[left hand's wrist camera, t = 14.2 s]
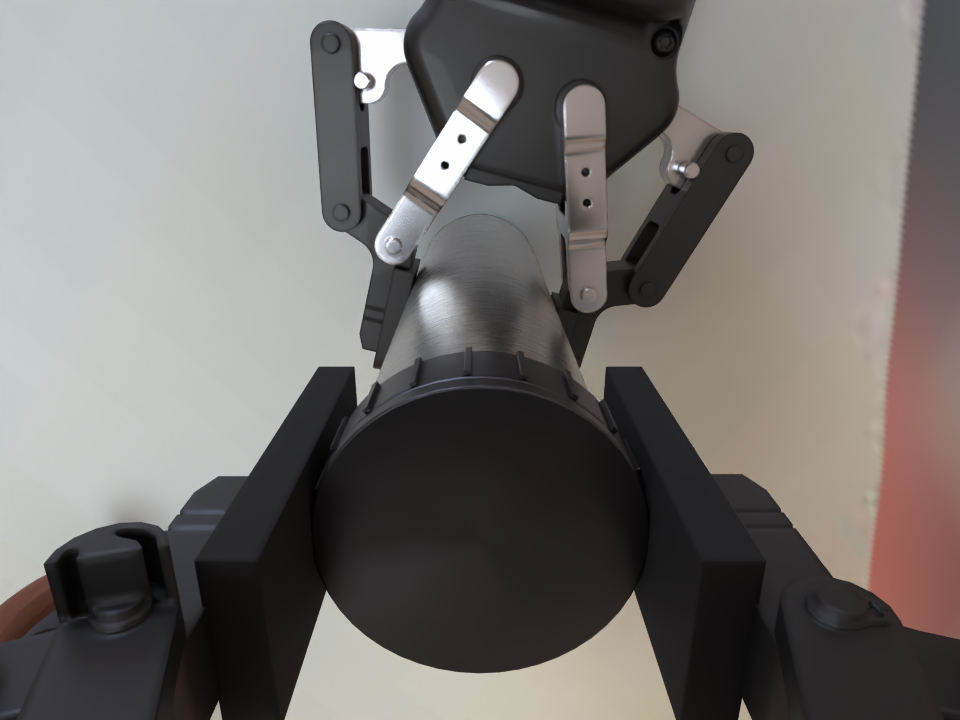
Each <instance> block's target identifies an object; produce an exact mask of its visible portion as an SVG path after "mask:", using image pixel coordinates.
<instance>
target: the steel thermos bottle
mask: <svg viewBox="0 0 960 720" xmlns="http://www.w3.org/2000/svg"><path fill="white" fill-rule="evenodd" d="M465 347H472V351H491V352H504V353H509V354H514V355H516V354H517V351H522V352H524V357H527V358H530V359H533V360H536V361H539V362H542V363H544V364H547V365H549V366H551V367H553V368H555V369H557V370H559V371H561V372H563V371H564V370H565V369H567V370H568V371H570V372H571V375H572V378H573V379H574V380H575V381H577V382H578V383H579V384H581V385H582V386H583V387H584V388H585V389H586V390H587V391H588V389H587V387H586V384H585V382H584V379H583V377H582V374H581V372H580V369H579V367H578V364H577V362H576V359H575V356H574V354H573V351H572V349H571V346H570V344H569V341H568V339H567V336H566V334H565V331H564V329H563V326H562V323H561V321H560V318H559V316H558V313H557V311H556V308H555V306H554V303H553V301H552V298H551V295H550V293H549V290H548V288H547V285H546V283H545V280H544V278H543V275H542V273H541V270H540V268H539V265H538V262H537V260H536V257H535V255H534V252H533V250H532V247H531V245H530V243H529V242H528V240H527V238H526V237H525V236H524V235H523V233H522V232H521V231H520V230H519V229H518V228H516V227H515V226H514V225H513V224H511V223H509V222H508V221H506V220H504V219H501V218H499V217H495V216H492V215H484V214H475V215H468V216H465V217H461V218H459V219H456V220H454V221H452V222H451V223H449V224H447V225H446V226H445V227H444V228H442V229H441V230H440V231H439V232H438V233H437V234H436V236H435V237H434V239H433V240H432V242H431V243H430V245H429V247H428V250H427V252H426V255H425V257H424V260H423V262H422V265H421V268H420V270H419V273H418V275H417V278H416V280H415V283H414V285H413V288H412V291H411V293H410V296H409V298H408V301H407V303H406V306H405V308H404V311H403V314H402V316H401V319H400V321H399V324H398V326H397V329H396V331H395V334H394V337H393V339H392V342H391V344H390V347H389V349H388V352H387V354H386V357H385V360H384V362H383V365H382V367H381V370H380V372H379V375H378V377H377V380H376V381H377V382H378V383H379V384H381V383H383V382H384V381H385V380H387V379H388V378H390V377H392V376H393V375H395V374H396V373H398V372H400V371H401V370H403V369H405V368H408V367H410V366H412V365H414V361H415V359H417V358H419V357H421V359H422V361H424V360H428V359H431V358H434V357H437V356H441V355H446V354H452V353H458V352H465Z"/></svg>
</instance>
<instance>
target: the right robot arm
mask: <svg viewBox="0 0 960 720" xmlns="http://www.w3.org/2000/svg"><path fill="white" fill-rule="evenodd" d="M695 1H696V0H425V2H424V3H423V5H422V6H421V8H420V9H419V10H418V11H417V12H416V14H415V15H414V16H413V17H412V18H411V20H410V22H409V23H408V26H407V28H406V29H358V28H349V27H347V26H345V25H343V24H341V23H339V22H336V21H332V20H327V21H323V22H321V23H319V24H318V25H317V26H316V27H315V28H314V29H313V31H312V34H311V38H310V48H311V62H312V76H313V90H314V105H315V119H316V133H317V147H318V161H319V175H320V189H321V203H322V215H323V218H324V220H325V222H326V224H327V225H328V226H329V227H330V228H332V229H333V230H336V231H339V232H346V233H348V234H350V235H351V236H353V237H354V238H356V239H357V240H359V241H360V242H362V243H363V244H364V245H365V246H366V247H367V248H368V249H369V251H370V253H371V255H372V258H373V270H372V275H371V280H370V285H369V290H368V295H367V300H366V305H365V310H364V314H363V319H362V324H361V329H360V339H361V343H362V348H363V349H366V350H370V351H374V352H376V355H375V359H374V365H373V368H376V369H380V370H381V367H382V365H383V362H384V360H385V357H386V354H387V352H388V349H389V347H390V344H391V342H392V339H393V337H394V334H395V331H396V329H397V326H398V324H399V321H400V319H401V316H402V314H403V311H404V308H405V306H406V303H407V301H408V298H409V296H410V293H411V291H412V288H413V285H414V283H415V280H416V277H417V273H418V268H419V264H420V259H416V258H415V256H416V252H417V247H418V243H419V241H420V240H421V238H422V237H423V235H424V234H425V232H426V231H427V229H428V228H429V226H430V224H431V223H432V221H433V220H434V218H435V217H436V215H437V214H438V212H439V211H440V210H441V208H442V207H443V205H444V204H445V202H446V201H447V199H448V198H449V196H450V195H451V193H452V192H453V190H454V188H455V187H456V185H457V184H458V182H459V181H460V179H461V178H462V176H464V177H465V180H468V181H472V182H476V183H480V184H484V185H487V186H505V185H513V186H516V187H518V188H520V189H522V190H523V191H525V192H527V193H528V194H530V195H532V196H534V197H535V198H537V199H541V200H544V201H548V202H552V203H556V217H557V226H558V231H559V243H560V260H561V277H562V285H561V289H560V292H559V294H558V293H554V292H552V294H551V298H552V301H553V303H554V306H555V308H556V311H557V313H558V316H559V318H560V321H561V323H562V326H563V329H564V331H565V334H566V336H567V339H568V341H569V344H570V346H571V349H572V351H573V354H574V356H575V359H576V362H577V364H578V367H579V368H580V366H581V363H582V359H583V357H584V354H585V351H586V348H587V345H588V342H589V339H590V336H591V333H592V330H593V327H594V323H595V321H596V319H597V317H598V316H599V315H600V313H602V312H603V311H604V310H606V309H607V308H610V307H613V306H619V305H630V304H636V305H638V306H641V307H651V306H654V305H656V304H658V303H659V302H660V301H661V300H662V299H663V297H664V296H665V294H666V293H667V291H668V289H669V288H670V286H671V285H672V283H673V282H674V280H675V279H676V277H677V276H678V274H679V272H680V271H681V269H682V268H683V266H684V265H685V263H686V262H687V260H688V259H689V257H690V255H691V254H692V252H693V251H694V249H695V248H696V246H697V245H698V243H699V242H700V240H701V238H702V237H703V235H704V234H705V232H706V231H707V229H708V228H709V226H710V225H711V223H712V221H713V220H714V218H715V217H716V215H717V214H718V212H719V211H720V209H721V208H722V206H723V204H724V203H725V201H726V200H727V198H728V197H729V195H730V194H731V192H732V191H733V189H734V187H735V186H736V184H737V183H738V181H739V180H740V178H741V177H742V175H743V174H744V172H745V170H746V169H747V167H748V166H749V164H750V163H751V161H752V158H753V154H754V147H753V144H752V142H751V140H750V139H749V138H748V137H747V136H746V135H744V134H742V133H733V132H721V131H719V130H718V129H716V128H714V127H713V126H711V125H709V124H708V123H706V122H704V121H703V120H701V119H700V118H698V117H696V116H695V115H693V114H691V113H690V112H688V111H686V110H685V109H683V108H681V107H680V106H678V105H679V90H678V85H677V76H676V66H677V58H678V53H679V49H680V46H681V43H682V40H683V38H684V35H685V31H686V28H687V25H688V22H689V19H690V16H691V13H692V10H693V7H694V4H695ZM403 65H408V68H409V70H410V73H411V75H412V78H413V80H414V83H415V85H416V88H417V90H418V93H419V95H420V98H421V100H422V103H423V105H424V108H425V111H426V113H427V116H428V118H429V121H430V123H431V126H432V128H433V131H434V133H435V136H436V138H437V140H436V141H435V143H434V145H433V146H432V148H431V149H430V151H429V153H428V154H427V156H426V157H425V159H424V161H423V162H422V164H421V165H420V167H419V168H418V170H417V172H416V173H415V175H414V176H413V178H412V180H411V181H410V183H409V185H408V186H407V188H406V190H405V192H404V193H403V195H402V197H401V198H400V200H399V201H398V203H397V205H396V206H395V208H394V209H393V210H392V209H391V208H389V207H388V206H387V205H385V204H384V203H382V202H381V201H379V200H378V199H376V198H375V197H373V196H372V180H371V158H370V136H369V113H368V104H374V103H377V102H379V101H381V100H382V99H383V98H384V97H385V96H386V94H387V92H388V88H389V80H390V77H391V75H392V73H393V72H394V71H395V70H396V69H397V68H399V67H400V66H403ZM658 136H660V138H661V139H662V141H663V144H664V154H663V158H662V160H661V162H660V167H659V172H660V175H661V178H662V179H663V181H664V182H666V183H667V185H666V186H665V188H664V190H663V191H662V193H661V195H660V196H659V198H658V199H657V201H656V203H655V204H654V206H653V208H652V209H651V211H650V213H649V214H648V216H647V217H646V219H645V221H644V222H643V224H642V226H641V227H640V229H639V230H638V232H637V234H636V235H635V237H634V239H633V240H632V242H631V244H630V245H629V247H628V248H627V250H626V252H625V253H624V255H623V257H622V258H621V260H620V261H610V262H606V240H607V235H608V220H607V191H606V179H607V178H608V177H609V176H610V175H612V174H613V173H614V172H615V171H616V170H618V169H619V168H620V167H621V166H623V165H624V164H625V163H626V162H628V161H629V160H630V159H631V158H632V157H634V156H635V155H636V154H637V153H639V152H640V151H641V150H642V149H644V148H645V147H646V146H647V145H648V144H650V143H651V142H652V141H653V140H655V139H656V138H657V137H658Z"/></svg>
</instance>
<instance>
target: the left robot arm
mask: <svg viewBox="0 0 960 720" xmlns="http://www.w3.org/2000/svg"><path fill="white" fill-rule="evenodd" d="M604 401H605V402H606V403H607V406H608V408H609V410H610V413H611V415H612V417H613V419H614V422H615V424H616V426H617V428H618V431H619V434H620V436H621V438H622V440H623V439H626V438H627V440H628V442H629V444H630V446H631V448H632V451H633V453H634V455H635V457H636V459H637V462H638V464H639V466H640V468H641V471H642V474H639V475H638V477H639V479H640V481H641V483H642V486H643V489H644V493H645V496H646V500H647V503H648V510H649V519H650V528H649V539H648V548H647V557H646V562H645V565H644V568H643V570H642V573H641V576H640V579H639V581H638V583H637V585H636V587H635V589H634V591H635V595H636V598H637V601H638V604H639V607H640V610H641V613H642V616H643V619H644V622H645V625H646V628H647V632H648V635H649V638H650V641H651V644H652V647H653V650H654V653H655V656H656V659H657V662H658V666H659V669H660V672H661V675H662V678H663V681H664V684H665V687H666V690H667V693H668V696H669V699H670V703H671V706H672V709H673V712H674V715H675V718H676V720H738V717H739V712H740V706H741V701H742V698H743V701H744V703H745V705H746V707H747V709H748V712H749V714H750V716H751V718H752V720H960V640H959V639H954V638H950V637H945V636H941V635H936V634H931V633H927V632H922V631H918V630H914V629H911V628H907V627H904V626H903V625H902V623H901V621H900V620H899V618H898V617H897V615H896V614H895V613H894V611H893V610H892V609H891V607H890V606H889V605H888V604H886V603H885V602H884V601H882V600H881V599H880V598H878V597H877V596H876V595H874V594H873V593H872V592H870V591H867V590H865V589H863V588H861V587H859V586H857V585H855V584H853V583H851V582H847V581H843V580H839V579H836V578H833V577H832V575H831V574H830V573H829V571H828V570H827V569H826V567H825V566H824V565H823V564H822V562H821V561H820V560H819V558H818V557H817V556H816V554H815V553H814V552H813V550H812V549H811V548H810V547H809V545H808V544H807V543H806V541H805V540H804V539H803V537H802V536H801V535H800V533H799V532H798V531H797V530H796V528H793V526H792V525H793V524H792V523H791V522H790V520H789V519H788V518H787V516H786V515H785V514H784V513H781V509H780V507H779V506H778V505H777V503H776V502H775V501H774V499H773V498H772V497H771V496H770V494H769V493H768V492H767V490H765V489H764V488H762V487H761V486H759V485H758V484H756V483H755V482H753V481H752V480H750V479H749V478H747V477H746V476H744V475H743V474H710V473H709V471H708V469H707V468H706V466H705V465H704V463H703V462H702V460H701V459H700V457H699V455H698V454H697V452H696V451H695V449H694V448H693V446H692V444H691V443H690V441H689V440H688V438H687V437H686V435H685V434H684V432H683V430H682V429H681V427H680V426H679V424H678V423H677V421H676V420H675V418H674V416H673V415H672V413H671V412H670V410H669V409H668V407H667V406H666V404H665V402H664V401H663V399H662V398H661V396H660V395H659V393H658V392H657V390H656V388H655V387H654V385H653V384H652V382H651V381H650V379H649V378H648V376H647V374H646V373H645V371H644V370H643V368H642V367H606V374H605V388H604ZM356 408H357V396H356V382H355V368H354V367H318V369H317V370H316V372H315V374H314V375H313V377H312V378H311V380H310V381H309V383H308V384H307V386H306V388H305V389H304V391H303V392H302V394H301V395H300V397H299V398H298V400H297V402H296V403H295V405H294V406H293V408H292V409H291V411H290V412H289V414H288V416H287V417H286V419H285V420H284V422H283V423H282V425H281V426H280V428H279V430H278V431H277V433H276V434H275V436H274V437H273V439H272V440H271V442H270V444H269V445H268V447H267V448H266V450H265V451H264V453H263V455H262V456H261V458H260V459H259V461H258V462H257V464H256V465H255V467H254V469H253V470H252V472H251V473H250V475H249V476H218V477H217V478H215V479H214V480H212V481H211V482H209V483H208V484H206V485H205V486H203V487H202V488H200V489H199V490H197V491H196V492H194V494H193V495H192V496H191V497H190V499H189V500H188V501H187V503H186V504H185V505H184V507H183V508H182V509H181V511H180V515H177V516H176V517H175V519H174V520H173V521H172V523H171V524H170V525H169V526H168V531H163V530H162V529H161V528H160V527H158V526H156V525H151V524H147V523H142V522H134V523H118V524H114V525H110V526H105V527H101V528H97V529H94V530H92V531H89V532H87V533H85V534H82V535H80V536H77V537H75V538H73V539H72V540H70V541H69V542H67V543H66V544H64V545H63V546H61V547H60V548H58V549H57V550H55V551H54V552H53V554H52V555H51V556H50V557H49V558H48V560H47V561H46V562H45V563H44V568H45V571H46V575H47V579H48V582H49V586H50V590H51V593H52V597H53V601H54V604H55V608H56V612H57V615H58V619H59V624H58V626H57V629H56V630H53V631H49V632H46V633H42V634H38V635H33V636H29V637H24V638H19V639H15V640H10V641H6V642H1V643H0V720H210V718H211V716H212V714H213V712H214V709H215V707H216V705H217V703H218V700H219V704H220V709H221V715H222V720H284V719H285V716H286V713H287V710H288V707H289V704H290V701H291V698H292V695H293V691H294V688H295V685H296V682H297V679H298V676H299V673H300V670H301V667H302V664H303V661H304V658H305V654H306V651H307V648H308V645H309V642H310V639H311V636H312V633H313V630H314V627H315V624H316V620H317V617H318V614H319V611H320V608H321V605H322V602H323V599H324V596H325V593H326V588H325V586H324V584H323V582H322V580H321V578H320V575H319V572H318V569H317V566H316V563H315V560H314V553H313V545H312V534H311V515H312V508H313V501H314V498H315V495H316V494H315V487H316V485H317V482H318V480H319V478H320V476H321V473H322V471H323V469H324V467H325V464H326V462H327V460H328V458H329V457H331V455H332V452H333V451H332V450H330V446H331V444H332V442H333V440H334V437H335V435H336V433H337V431H338V429H339V426H340V424H341V422H342V420H343V418H344V417H345V416H346V417H348V418H350V416H351V415H352V414H353V412H354V411H355V409H356Z"/></svg>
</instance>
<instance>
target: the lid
mask: <svg viewBox="0 0 960 720" xmlns="http://www.w3.org/2000/svg"><path fill="white" fill-rule="evenodd" d="M330 450H332V451H333V452H332V455H331V457H329V458H328V460H327V462H326V464H325V467H324V469H323V471H322V473H321V476H320V478H319V480H318V482H317V485H316V487H315V494H316V495H315V498H314V501H313V508H312V515H311V534H312V545H313V553H314V560H315V563H316V566H317V569H318V572H319V575H320V578H321V580H322V582H323V584H324V586H325V588H326V590H327V592H328V594H329V595H330V597H331V598H332V600H333V601H334V602H335V604H336V605H337V607H338V608H339V610H340V611H341V612H342V613H343V614H344V615H345V616H346V617H347V619H348V620H349V621H350V622H351V623H352V624H353V625H354V626H355V627H357V628H358V629H359V630H360V631H361V632H362V633H363V634H365V635H366V636H367V637H369V638H370V639H371V640H373V641H374V642H376V643H377V644H379V645H380V646H382V647H383V648H385V649H387V650H389V651H391V652H393V653H395V654H397V655H399V656H401V657H403V658H406V659H409V660H411V661H414V662H416V663H419V664H423V665H426V666H430V667H434V668H437V669H443V670H449V671H455V672H467V673H495V672H505V671H512V670H518V669H523V668H527V667H530V666H534V665H538V664H541V663H544V662H547V661H549V660H552V659H555V658H557V657H559V656H561V655H563V654H565V653H567V652H569V651H571V650H573V649H575V648H577V647H578V646H580V645H581V644H583V643H585V642H586V641H588V640H589V639H591V638H592V637H593V636H594V635H596V634H597V633H598V632H599V631H600V630H602V629H603V628H604V627H605V626H606V625H607V624H608V623H609V622H610V621H611V620H612V619H613V618H614V617H615V616H616V615H617V614H618V613H619V612H620V610H621V609H622V607H623V606H624V605H625V603H626V602H627V600H628V599H629V598H630V596H631V594H632V592H633V590H634V589H635V587H636V585H637V583H638V581H639V579H640V576H641V573H642V570H643V568H644V565H645V562H646V557H647V548H648V539H649V528H650V519H649V510H648V503H647V500H646V496H645V493H644V489H643V486H642V483H641V481H640V479H639V477H638V475H639V474H642V471H641V468H640V466H639V464H638V462H637V459H636V457H635V455H634V453H633V451H632V448H631V446H630V444H629V442H628V440H627V438H626V439H623V440H622V438H621V436H620V434H619V431H618V428H617V426H616V424H615V422H614V419H613V417H612V415H611V413H610V410H609V408H608V406H607V403H606V402H605V401H604V400H601V401H600V402H598V400H597V399H596V398H595V397H594V396H593V395H592V394H591V393H590V392H589V391H587V390H586V389H585V388H584V387H583V386H582V385H581V384H579V383H578V382H577V381H575V380H574V379H573V378H572V375H571V372H570V371H568V370H567V369H565V370H564V371H563V372H561V371H559V370H557V369H555V368H553V367H551V366H549V365H547V364H544V363H542V362H539V361H536V360H533V359H530V358H527V357H524V352H522V351H517V354H516V355H514V354H509V353H504V352H491V351H472V347H465V352H458V353H452V354H446V355H441V356H437V357H434V358H431V359H428V360H424V361H422V359H421V357H419V358H417V359H415V361H414V365H412V366H410V367H408V368H405V369H403V370H401V371H400V372H398V373H396V374H395V375H393V376H392V377H390V378H388V379H387V380H385V381H384V382H383V383H381V384H379V383H378V382H377V381H376V382H375V383H374V384H373V385H372V387H371V390H370V392H369V394H368V396H367V397H366V398H365V399H364V400H363V401H362V402H361V403H360V404H359V405H358V407H357V408H356V409H355V411H354V412H353V414H352V415H351V416H350V418H348V417H346V416H345V417H344V418H343V420H342V422H341V424H340V426H339V429H338V431H337V433H336V435H335V437H334V440H333V442H332V444H331V446H330Z"/></svg>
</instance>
